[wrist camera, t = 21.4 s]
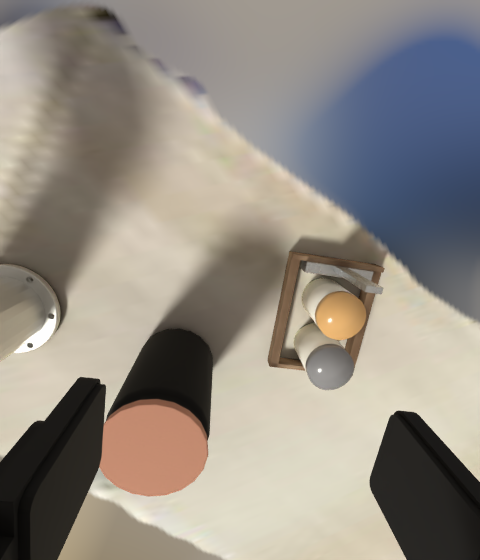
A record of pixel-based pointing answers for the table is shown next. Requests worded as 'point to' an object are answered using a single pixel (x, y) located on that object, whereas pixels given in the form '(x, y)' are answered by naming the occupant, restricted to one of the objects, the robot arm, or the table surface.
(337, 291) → the jar
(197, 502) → the table surface
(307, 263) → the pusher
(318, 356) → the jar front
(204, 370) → the coffee jar
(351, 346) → the brown wooden frame
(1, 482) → the robot arm
